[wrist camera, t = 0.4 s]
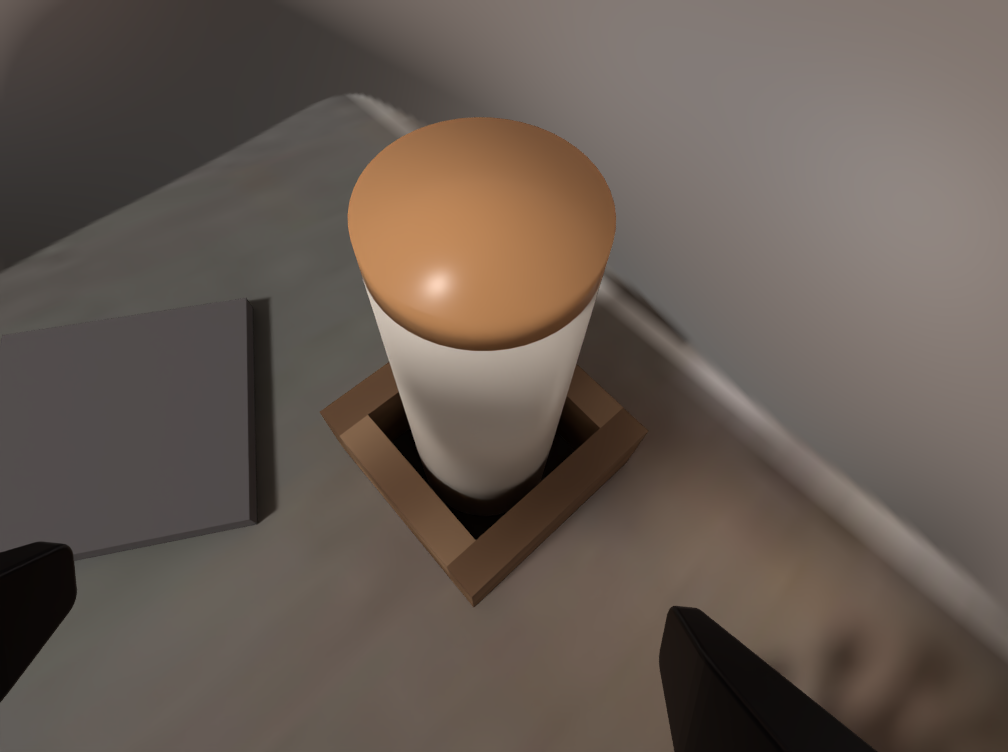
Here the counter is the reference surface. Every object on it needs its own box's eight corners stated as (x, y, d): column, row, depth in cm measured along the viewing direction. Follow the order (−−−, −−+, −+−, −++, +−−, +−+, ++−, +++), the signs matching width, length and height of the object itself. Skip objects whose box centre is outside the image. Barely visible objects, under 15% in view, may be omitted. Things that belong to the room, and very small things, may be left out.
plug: (559, 501, 22) (652, 296, 10) (432, 528, 22) (361, 344, 9) (529, 389, 25) (575, 104, 12) (414, 410, 24) (337, 133, 11)
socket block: (626, 462, 23) (648, 431, 20) (473, 607, 20) (471, 597, 17) (492, 332, 26) (493, 286, 23) (342, 446, 23) (319, 412, 20)
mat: (256, 524, 22) (249, 519, 21) (-30, 581, 20) (-49, 578, 20) (252, 307, 26) (246, 297, 25) (16, 344, 25) (2, 335, 24)
